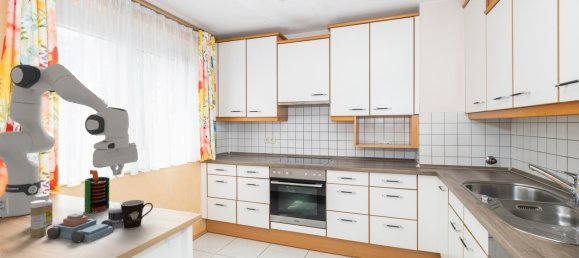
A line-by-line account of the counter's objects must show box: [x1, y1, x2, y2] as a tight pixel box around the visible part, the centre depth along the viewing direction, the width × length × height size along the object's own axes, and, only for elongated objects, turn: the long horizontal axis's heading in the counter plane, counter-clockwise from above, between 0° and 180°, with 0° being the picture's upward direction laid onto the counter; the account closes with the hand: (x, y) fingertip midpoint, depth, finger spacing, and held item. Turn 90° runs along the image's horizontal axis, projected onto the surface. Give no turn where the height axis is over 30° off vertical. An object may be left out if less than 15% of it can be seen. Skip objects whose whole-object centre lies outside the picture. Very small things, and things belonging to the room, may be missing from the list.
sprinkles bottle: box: [30, 200, 47, 239], centre depth 107 cm, size 5×5×14 cm
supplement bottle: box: [35, 193, 54, 227], centre depth 118 cm, size 7×7×13 cm
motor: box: [84, 169, 110, 214], centre depth 138 cm, size 10×9×20 cm
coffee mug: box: [120, 199, 154, 230], centre depth 119 cm, size 12×9×10 cm
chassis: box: [46, 215, 114, 244], centre depth 110 cm, size 20×14×4 cm
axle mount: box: [112, 219, 123, 226], centre depth 123 cm, size 6×6×5 cm
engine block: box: [62, 213, 88, 227], centre depth 111 cm, size 6×5×5 cm
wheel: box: [107, 205, 123, 220], centre depth 123 cm, size 7×7×4 cm
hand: (117, 174), depth 122 cm, fingers closed
